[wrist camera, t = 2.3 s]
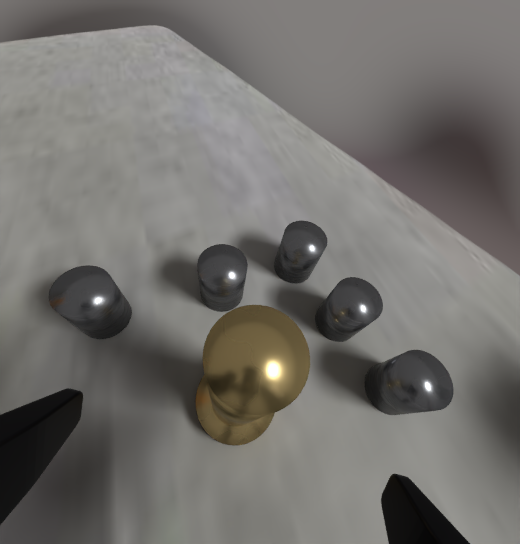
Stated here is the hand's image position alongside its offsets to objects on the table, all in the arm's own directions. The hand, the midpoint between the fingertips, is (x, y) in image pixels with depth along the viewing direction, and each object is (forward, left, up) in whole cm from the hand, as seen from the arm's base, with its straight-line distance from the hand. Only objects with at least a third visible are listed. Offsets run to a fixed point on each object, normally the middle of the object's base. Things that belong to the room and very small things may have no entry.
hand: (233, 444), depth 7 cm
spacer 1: (+10, +6, -10) cm, 15 cm away
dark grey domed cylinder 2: (-1, -11, -9) cm, 15 cm away
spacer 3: (+10, -9, -9) cm, 16 cm away
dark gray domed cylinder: (+9, -3, -10) cm, 14 cm away
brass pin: (+2, -1, -9) cm, 10 cm away
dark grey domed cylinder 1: (+4, -10, -10) cm, 15 cm away
